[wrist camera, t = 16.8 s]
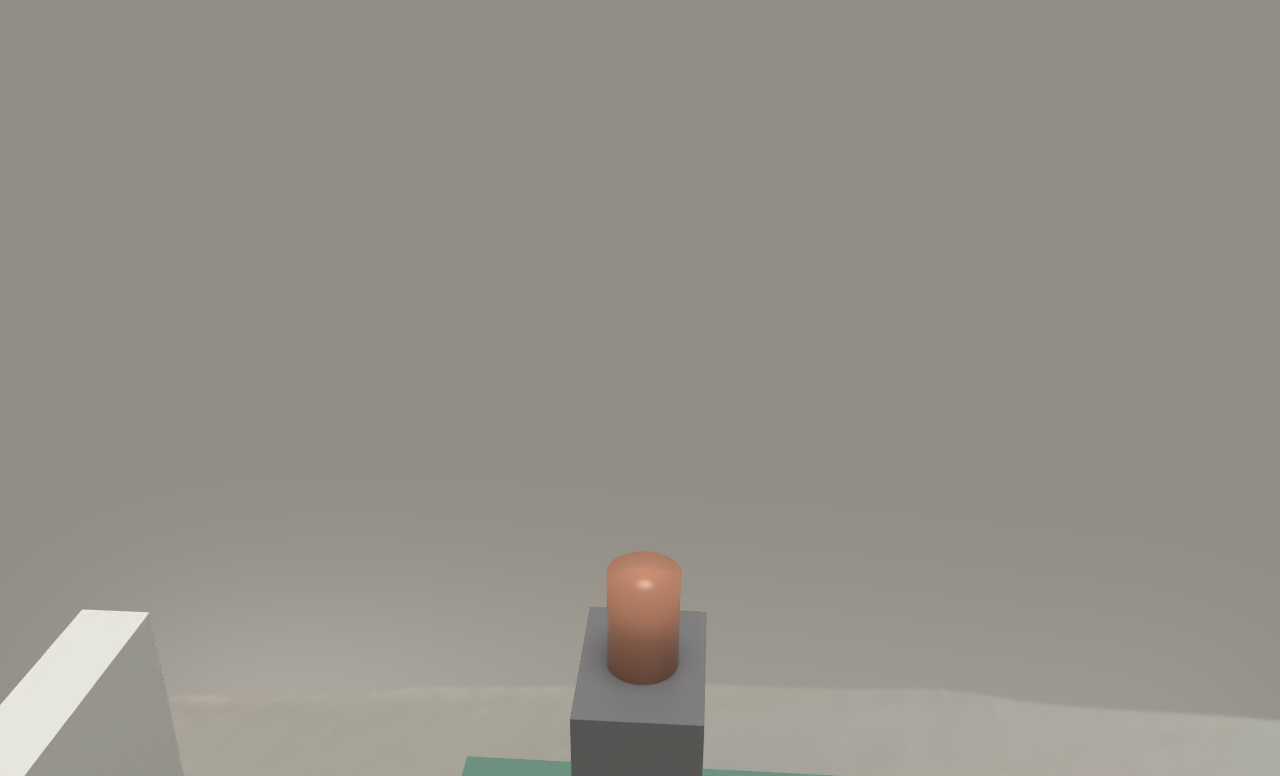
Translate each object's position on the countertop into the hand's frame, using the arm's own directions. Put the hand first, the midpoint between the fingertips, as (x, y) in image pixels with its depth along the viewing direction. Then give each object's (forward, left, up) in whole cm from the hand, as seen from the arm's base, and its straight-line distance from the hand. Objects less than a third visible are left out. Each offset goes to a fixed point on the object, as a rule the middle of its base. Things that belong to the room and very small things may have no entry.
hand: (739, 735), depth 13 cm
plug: (-6, -15, -28) cm, 32 cm away
